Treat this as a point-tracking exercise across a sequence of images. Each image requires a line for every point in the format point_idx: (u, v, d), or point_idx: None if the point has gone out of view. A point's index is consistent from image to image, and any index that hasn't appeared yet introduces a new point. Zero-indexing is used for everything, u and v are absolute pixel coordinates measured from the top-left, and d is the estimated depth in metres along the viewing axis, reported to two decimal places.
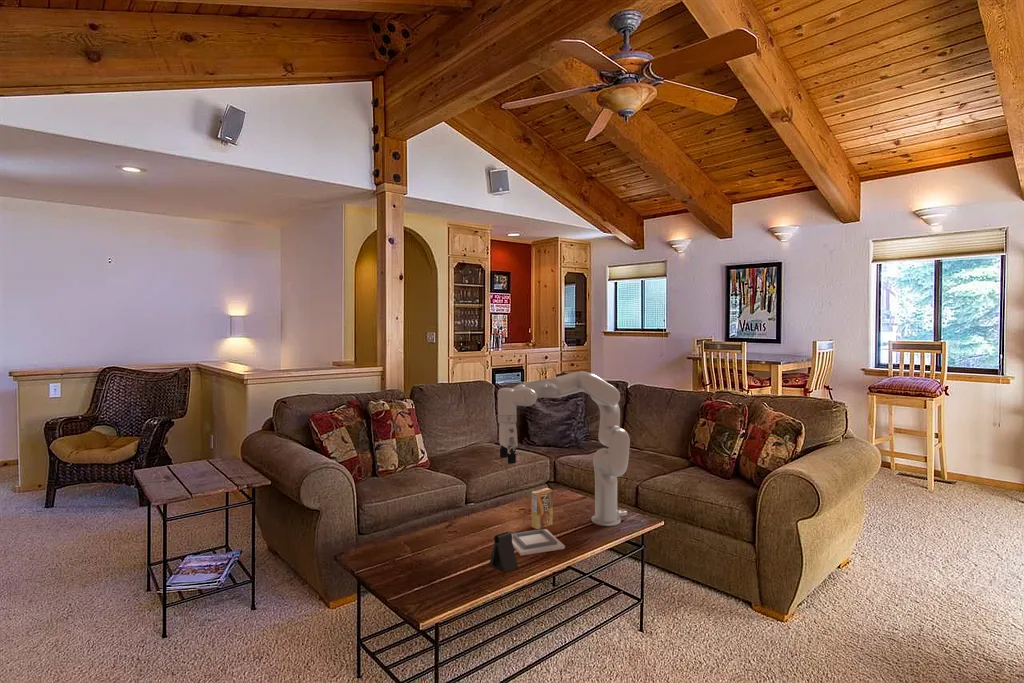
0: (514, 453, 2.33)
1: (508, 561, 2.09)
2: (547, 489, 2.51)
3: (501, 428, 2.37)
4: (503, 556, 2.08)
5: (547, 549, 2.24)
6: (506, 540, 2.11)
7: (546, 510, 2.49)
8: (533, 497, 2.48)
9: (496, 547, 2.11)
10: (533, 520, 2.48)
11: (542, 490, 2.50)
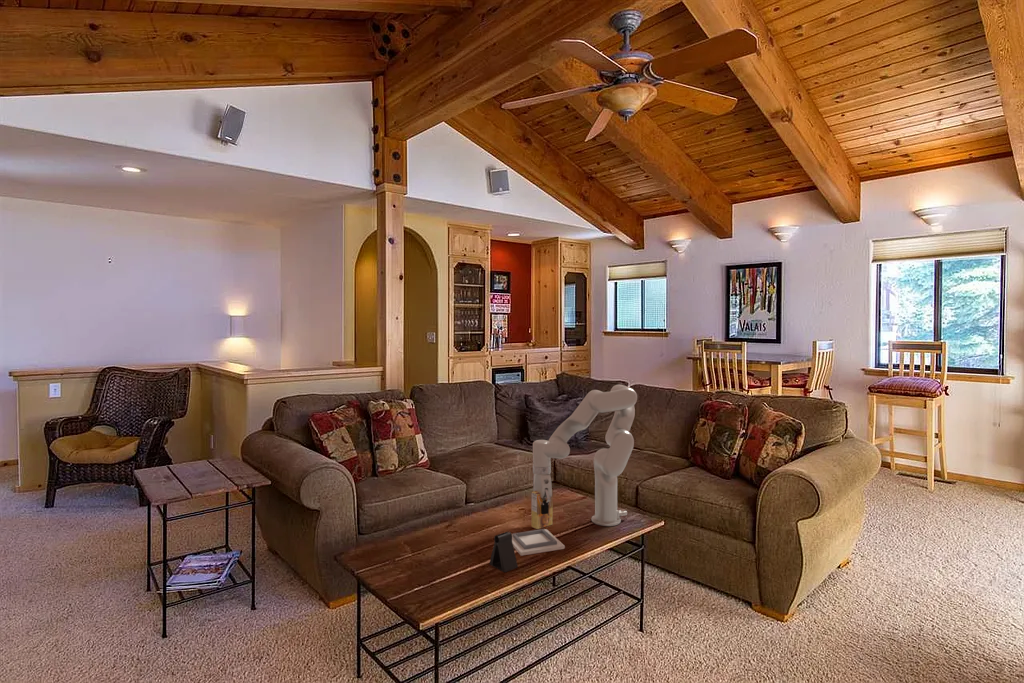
0: (547, 504, 2.47)
1: (508, 561, 2.09)
2: None
3: (536, 478, 2.49)
4: (503, 556, 2.08)
5: (547, 549, 2.24)
6: (506, 540, 2.11)
7: None
8: (533, 497, 2.48)
9: (496, 547, 2.11)
10: (533, 520, 2.48)
11: None
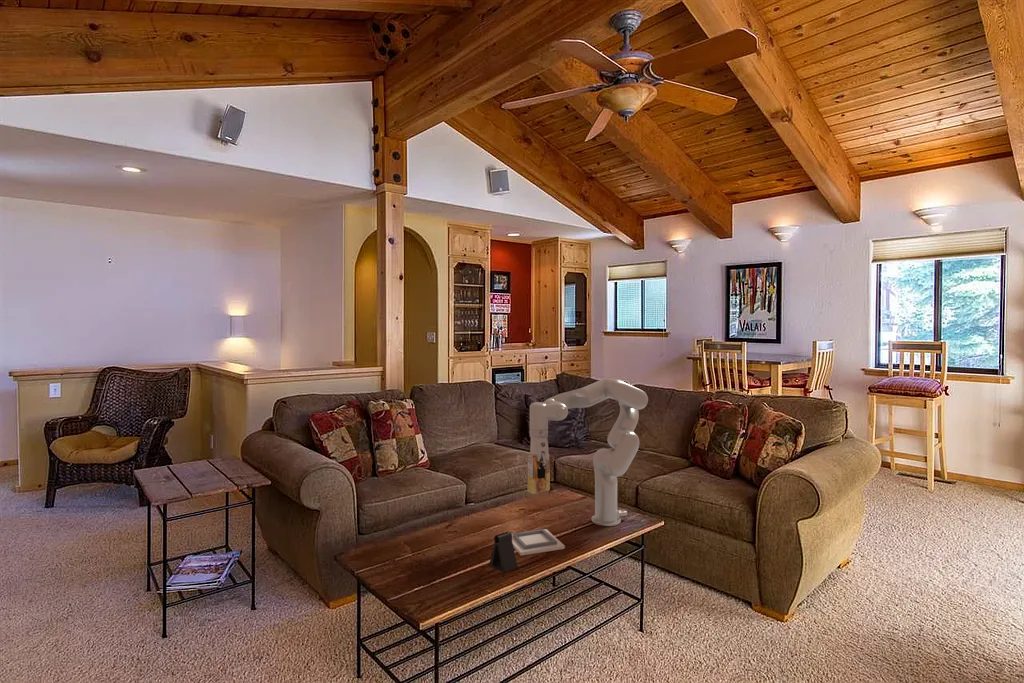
0: (543, 468, 2.39)
1: (508, 561, 2.09)
2: None
3: (533, 442, 2.41)
4: (503, 556, 2.08)
5: (547, 549, 2.24)
6: (506, 540, 2.11)
7: None
8: (529, 461, 2.41)
9: (496, 547, 2.11)
10: (529, 484, 2.41)
11: None
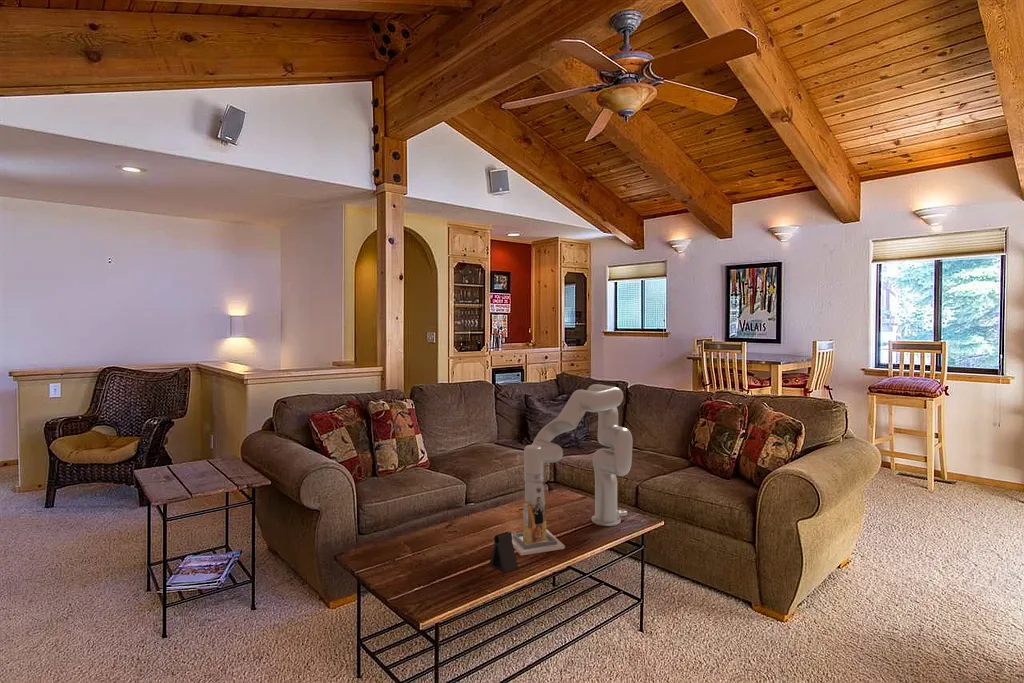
0: (541, 513, 2.26)
1: (508, 561, 2.09)
2: None
3: (527, 487, 2.30)
4: (503, 556, 2.08)
5: (547, 549, 2.24)
6: (506, 540, 2.11)
7: None
8: (524, 509, 2.30)
9: (496, 547, 2.11)
10: (524, 534, 2.30)
11: None
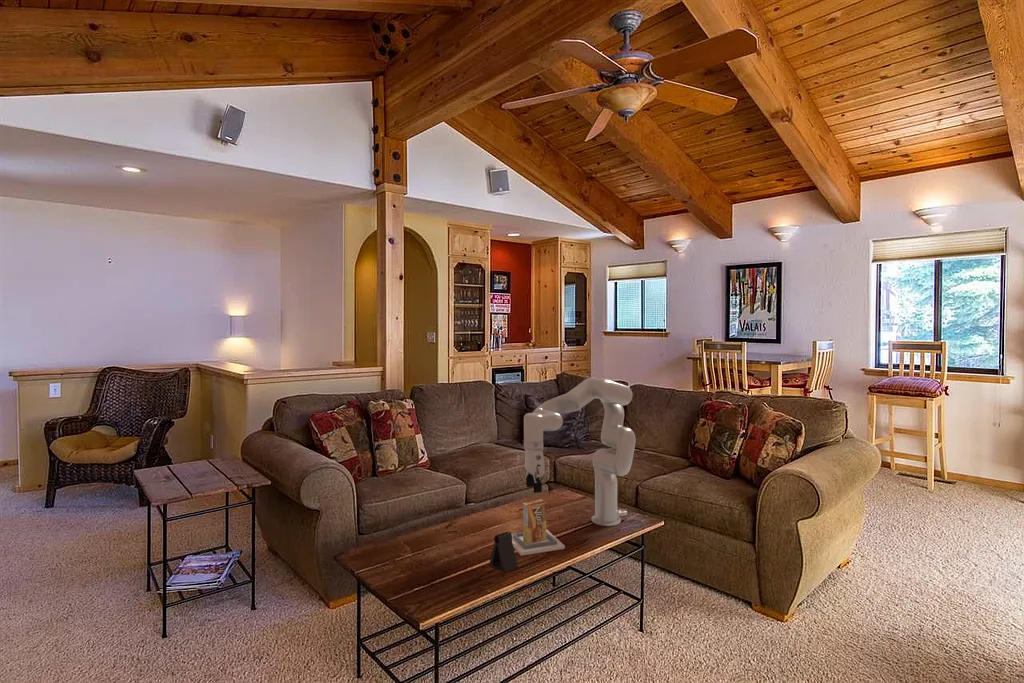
0: (540, 482, 2.27)
1: (508, 561, 2.09)
2: (541, 501, 2.33)
3: (527, 455, 2.29)
4: (503, 556, 2.08)
5: (547, 549, 2.24)
6: (506, 540, 2.11)
7: (539, 523, 2.30)
8: (524, 509, 2.30)
9: (496, 547, 2.11)
10: (524, 534, 2.30)
11: (535, 502, 2.32)
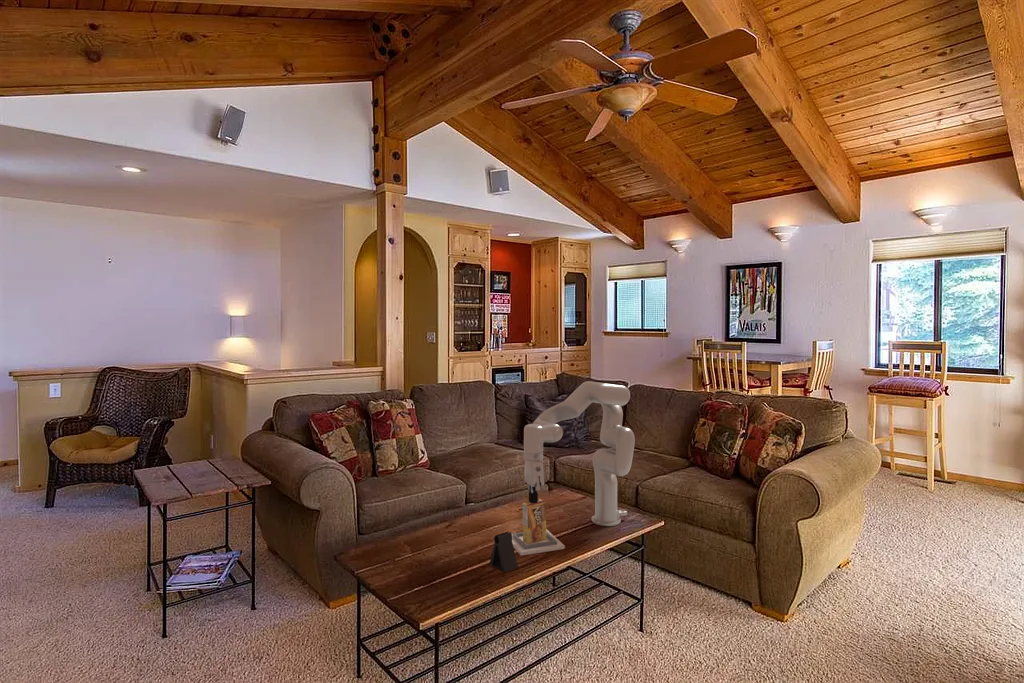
0: None
1: (508, 561, 2.09)
2: (540, 500, 2.33)
3: (527, 466, 2.30)
4: (503, 556, 2.08)
5: (547, 549, 2.24)
6: (506, 540, 2.11)
7: (538, 523, 2.30)
8: (523, 509, 2.29)
9: (496, 547, 2.11)
10: (524, 534, 2.30)
11: None
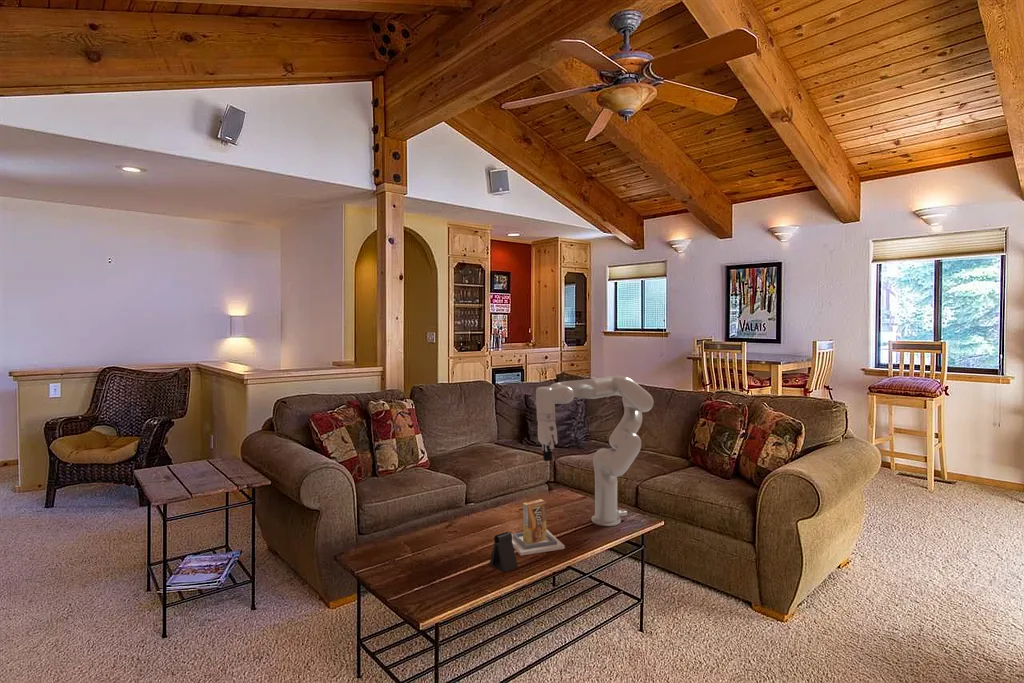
0: None
1: (508, 561, 2.09)
2: (541, 501, 2.33)
3: (540, 426, 2.42)
4: (503, 556, 2.08)
5: (547, 549, 2.24)
6: (506, 540, 2.11)
7: (539, 523, 2.30)
8: (524, 509, 2.30)
9: (496, 547, 2.11)
10: (524, 534, 2.30)
11: (535, 502, 2.32)
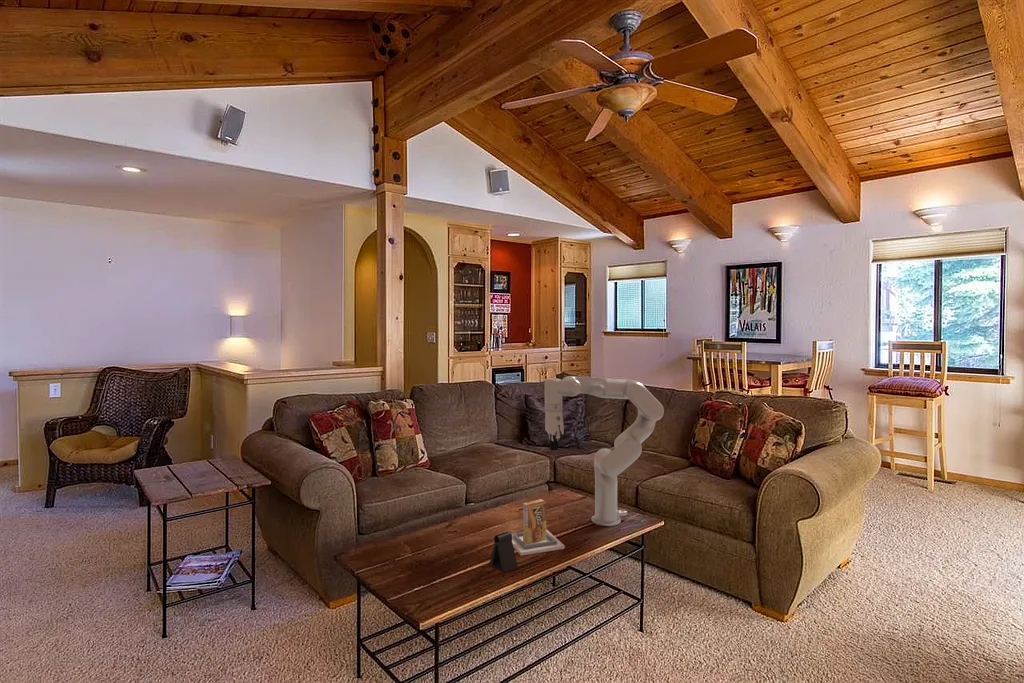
0: None
1: (508, 561, 2.09)
2: (541, 501, 2.33)
3: (548, 416, 2.50)
4: (503, 556, 2.08)
5: (547, 549, 2.24)
6: (506, 540, 2.11)
7: (539, 523, 2.30)
8: (524, 509, 2.30)
9: (496, 547, 2.11)
10: (524, 534, 2.30)
11: (535, 502, 2.32)
